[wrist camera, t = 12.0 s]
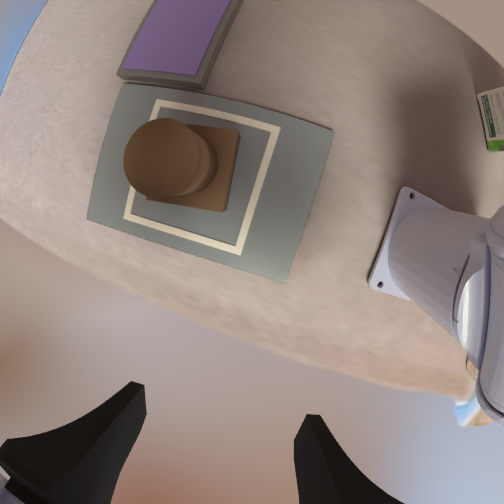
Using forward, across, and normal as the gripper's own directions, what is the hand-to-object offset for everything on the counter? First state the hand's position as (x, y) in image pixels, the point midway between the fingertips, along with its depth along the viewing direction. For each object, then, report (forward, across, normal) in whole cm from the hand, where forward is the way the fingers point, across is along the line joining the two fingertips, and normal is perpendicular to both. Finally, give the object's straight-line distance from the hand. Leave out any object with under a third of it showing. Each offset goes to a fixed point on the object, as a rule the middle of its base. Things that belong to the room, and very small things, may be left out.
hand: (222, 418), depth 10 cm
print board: (+10, +5, -10) cm, 15 cm away
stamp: (+10, +5, -10) cm, 15 cm away
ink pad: (+10, +8, -21) cm, 25 cm away
